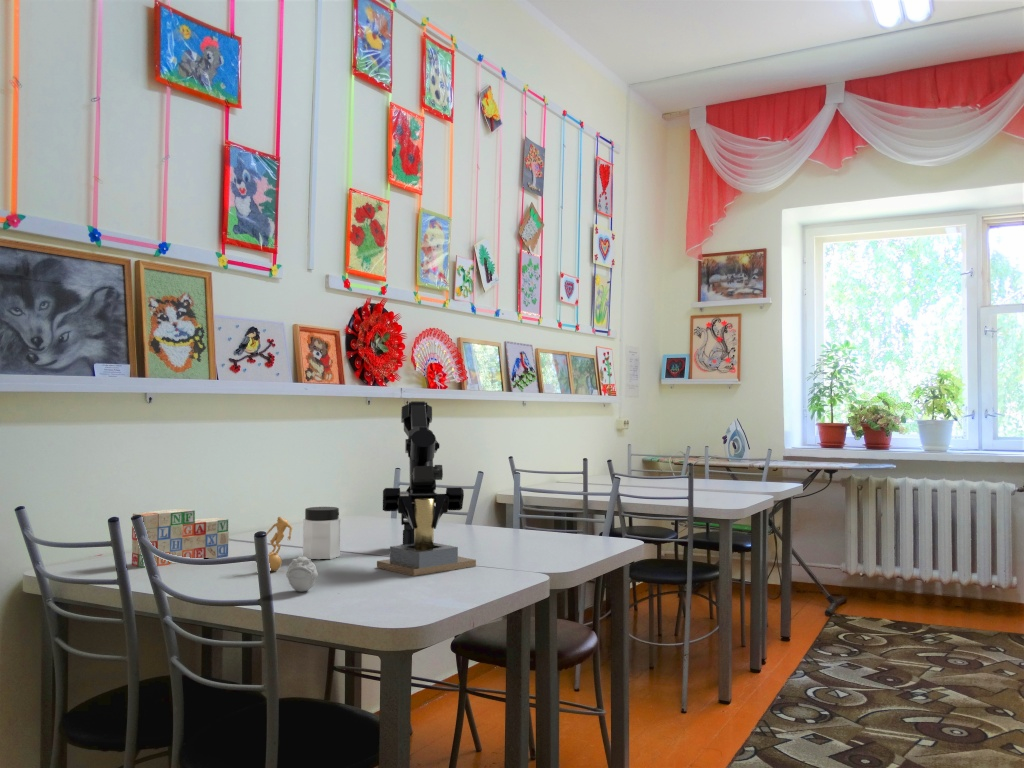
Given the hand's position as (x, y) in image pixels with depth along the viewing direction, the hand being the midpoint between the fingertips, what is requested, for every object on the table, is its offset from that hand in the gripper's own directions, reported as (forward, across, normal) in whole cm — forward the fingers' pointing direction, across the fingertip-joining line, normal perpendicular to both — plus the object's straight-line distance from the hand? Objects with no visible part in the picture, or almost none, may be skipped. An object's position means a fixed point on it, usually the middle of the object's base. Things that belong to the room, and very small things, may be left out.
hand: (424, 527), depth 191 cm
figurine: (+4, -33, +10) cm, 35 cm away
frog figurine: (+21, -25, -7) cm, 34 cm away
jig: (+4, +1, +9) cm, 10 cm away
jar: (-8, -24, +22) cm, 33 cm away
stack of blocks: (-8, -57, +22) cm, 61 cm away
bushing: (+4, 0, +6) cm, 7 cm away
